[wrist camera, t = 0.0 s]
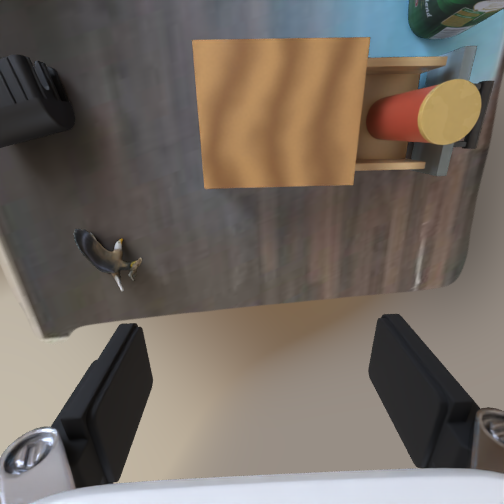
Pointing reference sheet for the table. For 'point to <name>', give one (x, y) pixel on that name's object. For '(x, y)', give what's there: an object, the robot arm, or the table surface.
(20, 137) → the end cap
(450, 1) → the coffee jar
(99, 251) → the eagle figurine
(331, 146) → the cabinet
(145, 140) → the table surface
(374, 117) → the tin
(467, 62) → the drawer
